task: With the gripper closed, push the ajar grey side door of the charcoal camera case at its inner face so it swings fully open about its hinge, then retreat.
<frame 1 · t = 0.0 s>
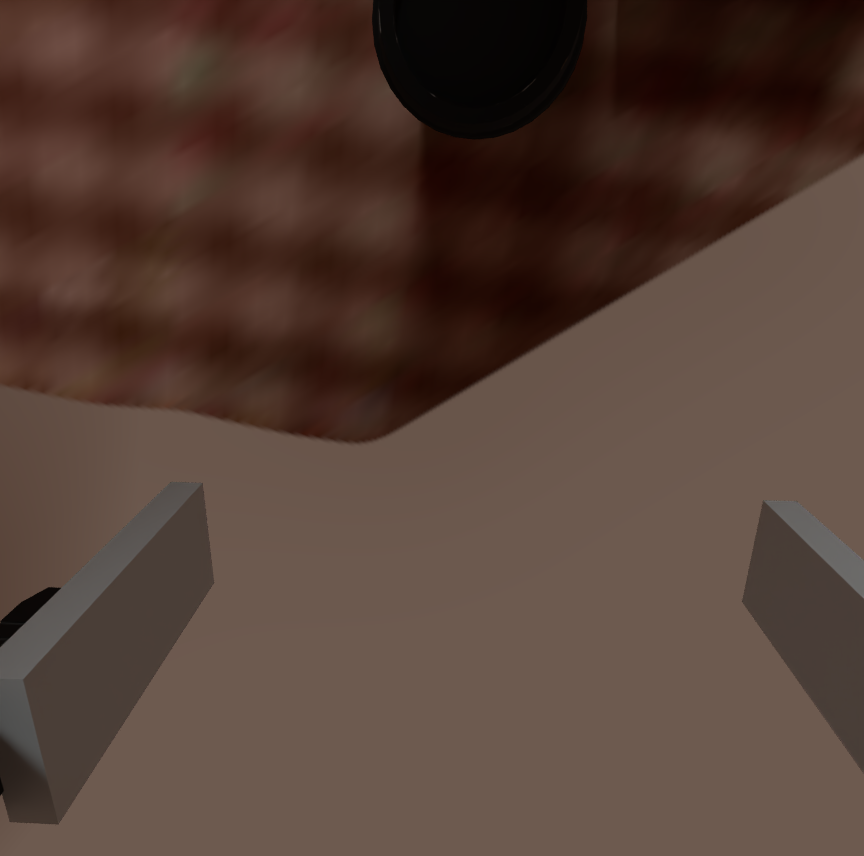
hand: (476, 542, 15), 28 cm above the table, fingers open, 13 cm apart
coffee cup: (472, 80, 37), on the table
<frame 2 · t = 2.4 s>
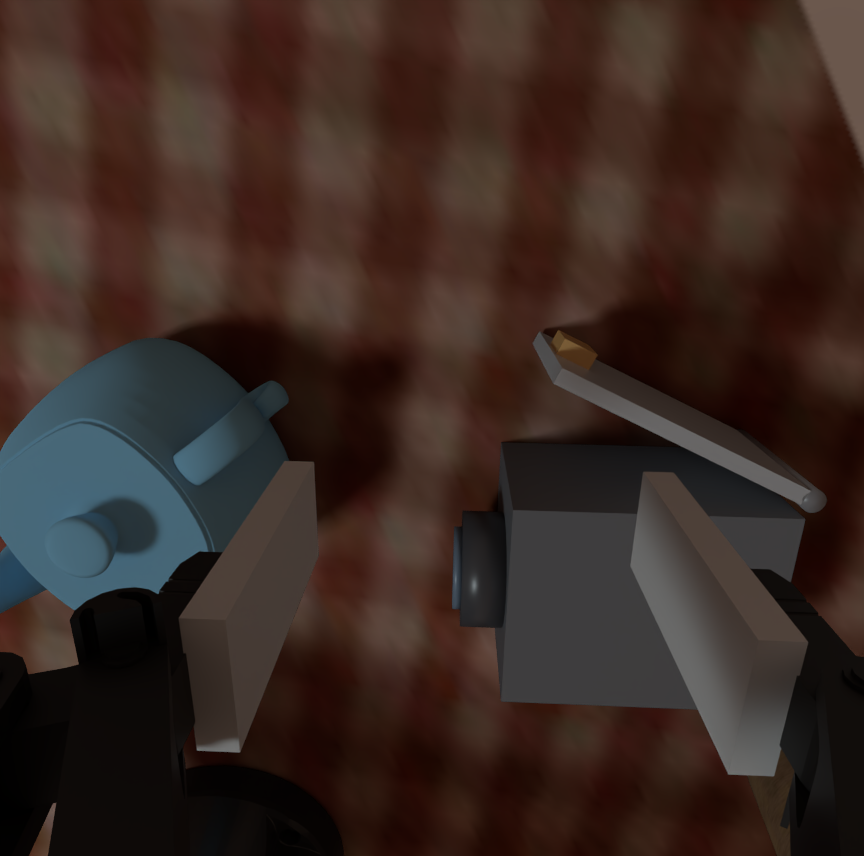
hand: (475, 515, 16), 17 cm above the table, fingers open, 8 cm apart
coffee cup: (774, 715, 40), on the table
camera case: (604, 528, 36), on the table
side door: (669, 408, 29), point 4 cm above the table, hinge at 25.0°
teapot: (171, 460, 36), on the table
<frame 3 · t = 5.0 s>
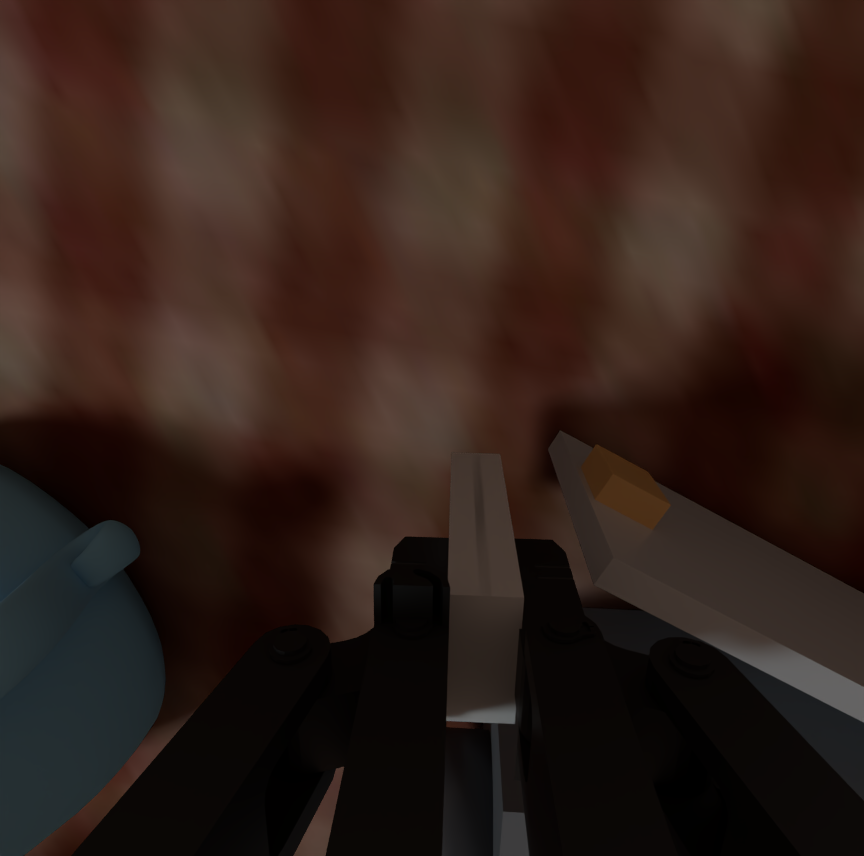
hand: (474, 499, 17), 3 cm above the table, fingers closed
camera case: (648, 729, 23), on the table
side door: (786, 590, 17), point 4 cm above the table, hinge at 26.9°, touching gripper
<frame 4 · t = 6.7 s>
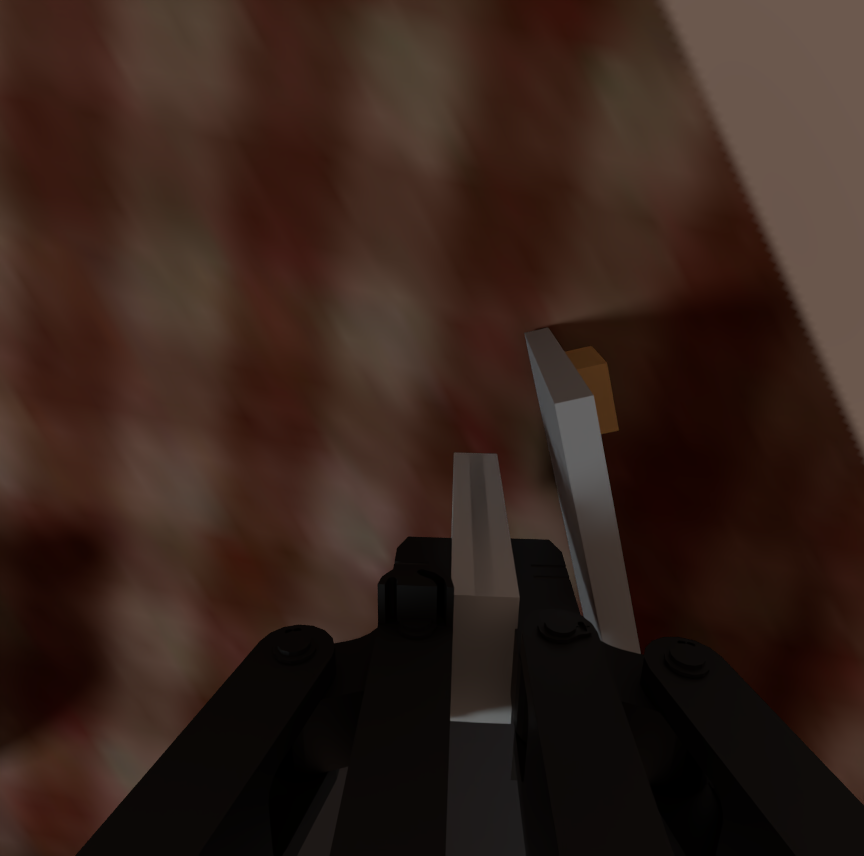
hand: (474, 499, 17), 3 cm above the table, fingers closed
camera case: (419, 776, 24), on the table
side door: (607, 583, 17), point 4 cm above the table, hinge at 74.0°, touching gripper
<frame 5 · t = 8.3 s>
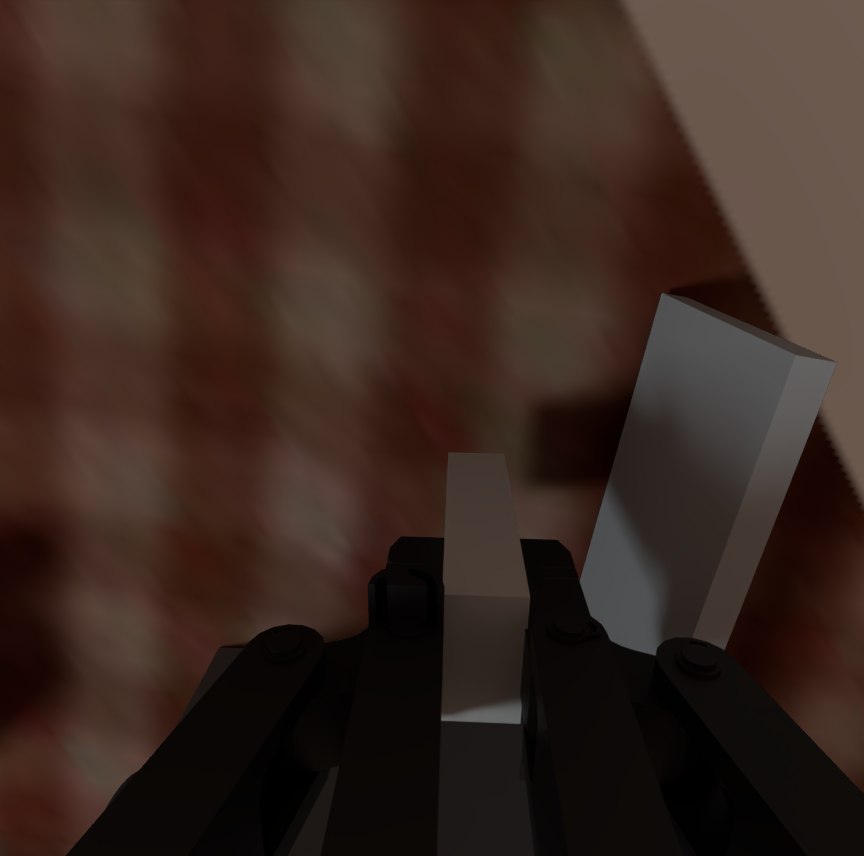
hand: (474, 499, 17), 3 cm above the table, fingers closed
camera case: (390, 761, 24), on the table
side door: (660, 563, 16), point 4 cm above the table, hinge at 99.1°
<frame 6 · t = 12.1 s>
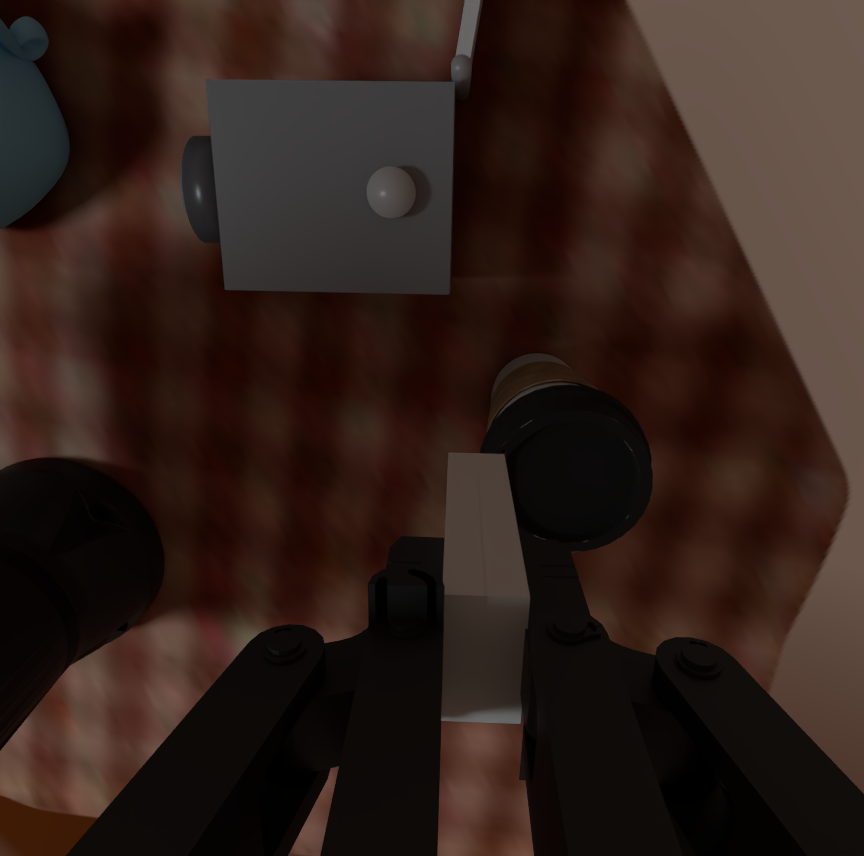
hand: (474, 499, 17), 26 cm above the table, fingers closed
coffee cup: (534, 394, 44), on the table
camera case: (357, 193, 40), on the table
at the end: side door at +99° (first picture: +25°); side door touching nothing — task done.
